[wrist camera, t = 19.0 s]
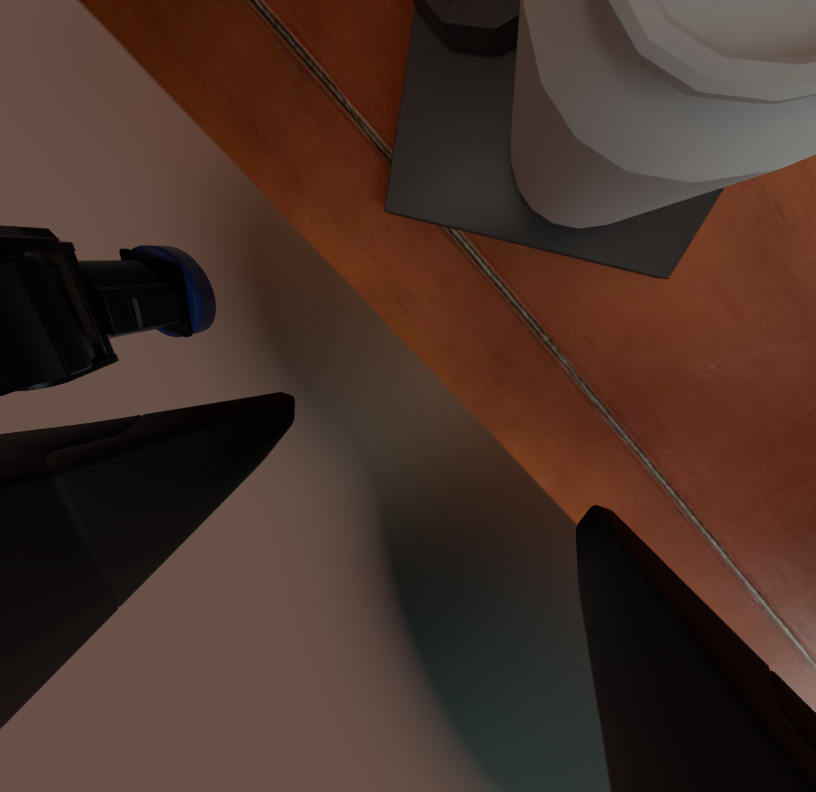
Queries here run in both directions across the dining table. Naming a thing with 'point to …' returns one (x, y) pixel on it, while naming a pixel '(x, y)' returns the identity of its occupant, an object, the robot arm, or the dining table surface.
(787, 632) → the dining table surface
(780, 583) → the dining table surface
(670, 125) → the can
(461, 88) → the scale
